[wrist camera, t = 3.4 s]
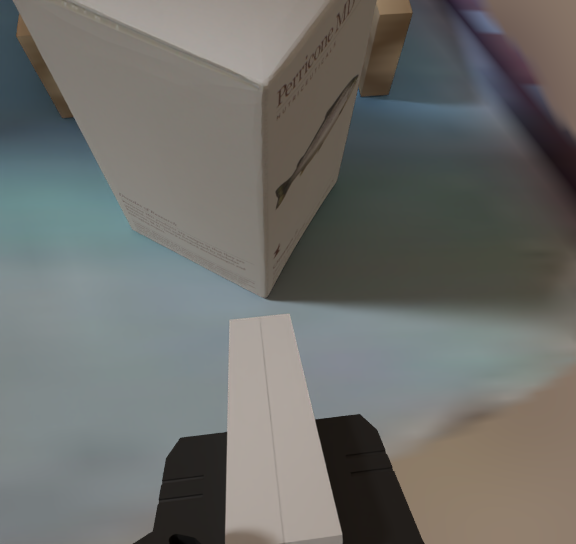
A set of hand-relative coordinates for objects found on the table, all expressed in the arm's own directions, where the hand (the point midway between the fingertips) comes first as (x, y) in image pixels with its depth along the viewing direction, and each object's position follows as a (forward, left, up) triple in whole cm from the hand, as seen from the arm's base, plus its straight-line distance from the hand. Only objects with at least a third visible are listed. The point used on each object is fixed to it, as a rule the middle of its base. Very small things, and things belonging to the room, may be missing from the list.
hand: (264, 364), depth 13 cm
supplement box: (0, +10, -8) cm, 12 cm away
